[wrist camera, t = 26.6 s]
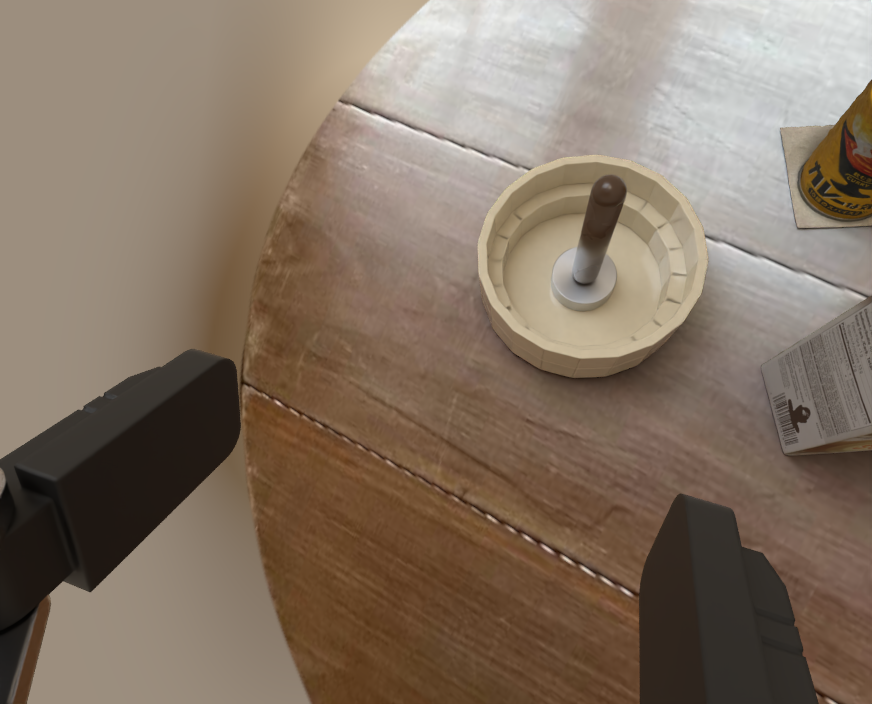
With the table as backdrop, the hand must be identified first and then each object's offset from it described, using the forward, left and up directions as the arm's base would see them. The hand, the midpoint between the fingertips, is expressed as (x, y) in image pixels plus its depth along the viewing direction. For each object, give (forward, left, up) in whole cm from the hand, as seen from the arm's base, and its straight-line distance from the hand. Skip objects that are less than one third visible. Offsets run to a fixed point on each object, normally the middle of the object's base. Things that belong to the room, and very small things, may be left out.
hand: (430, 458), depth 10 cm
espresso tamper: (+2, +17, -28) cm, 33 cm away
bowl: (+2, +17, -29) cm, 33 cm away
